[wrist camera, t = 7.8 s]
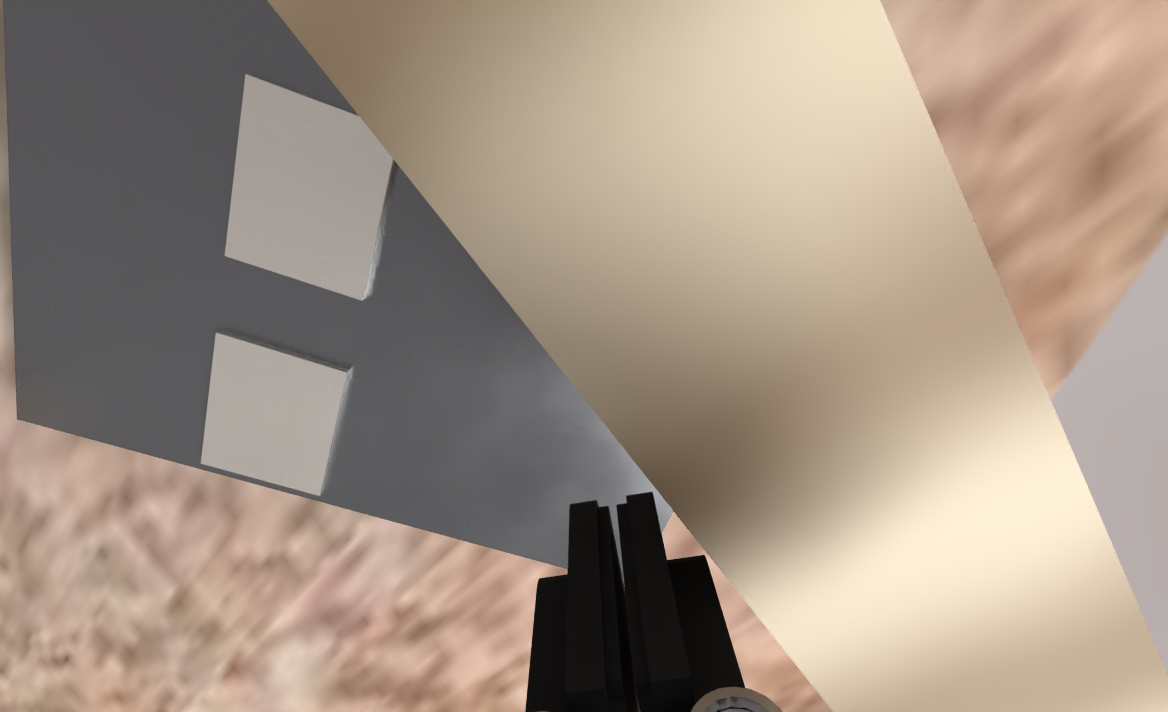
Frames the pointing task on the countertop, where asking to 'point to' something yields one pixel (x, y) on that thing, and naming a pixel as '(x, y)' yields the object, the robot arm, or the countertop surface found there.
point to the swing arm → (770, 323)
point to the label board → (270, 285)
